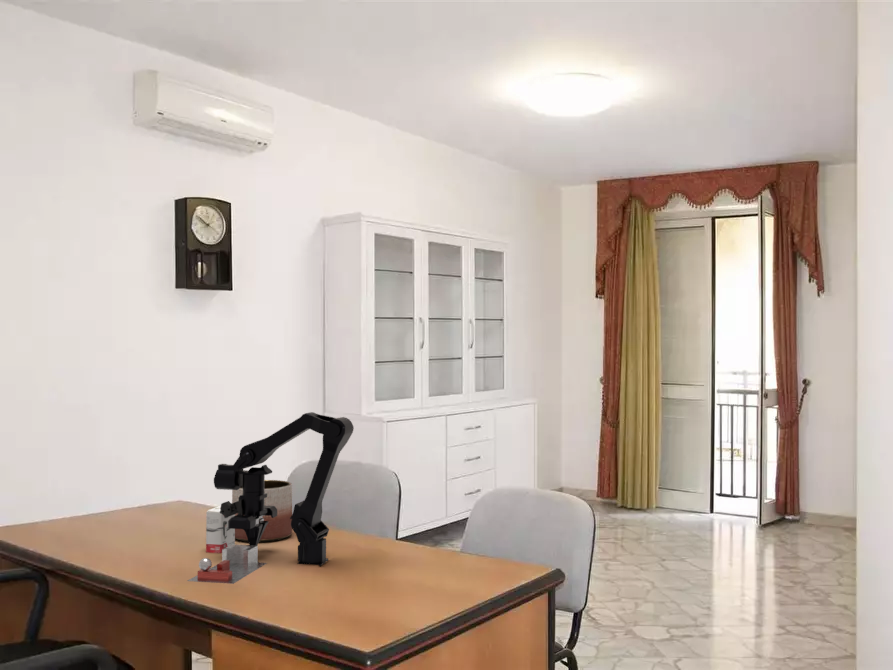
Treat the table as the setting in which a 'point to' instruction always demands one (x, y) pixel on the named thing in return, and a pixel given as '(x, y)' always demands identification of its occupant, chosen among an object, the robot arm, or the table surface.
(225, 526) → the ink box
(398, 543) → the table surface
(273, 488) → the planter
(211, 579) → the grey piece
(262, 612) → the table surface
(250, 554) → the block
